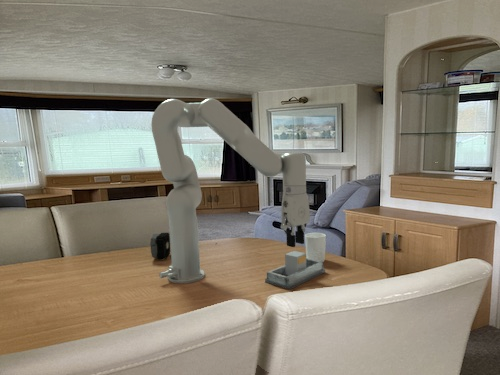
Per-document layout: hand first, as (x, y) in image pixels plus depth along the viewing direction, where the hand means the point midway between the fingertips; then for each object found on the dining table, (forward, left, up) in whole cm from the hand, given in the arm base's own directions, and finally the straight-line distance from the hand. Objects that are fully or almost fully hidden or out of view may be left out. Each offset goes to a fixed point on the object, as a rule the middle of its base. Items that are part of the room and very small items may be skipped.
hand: (295, 244), depth 121 cm
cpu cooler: (-17, +56, -12) cm, 60 cm away
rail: (0, 0, -11) cm, 11 cm away
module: (0, 0, -10) cm, 10 cm away
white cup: (+19, +5, -12) cm, 23 cm away
